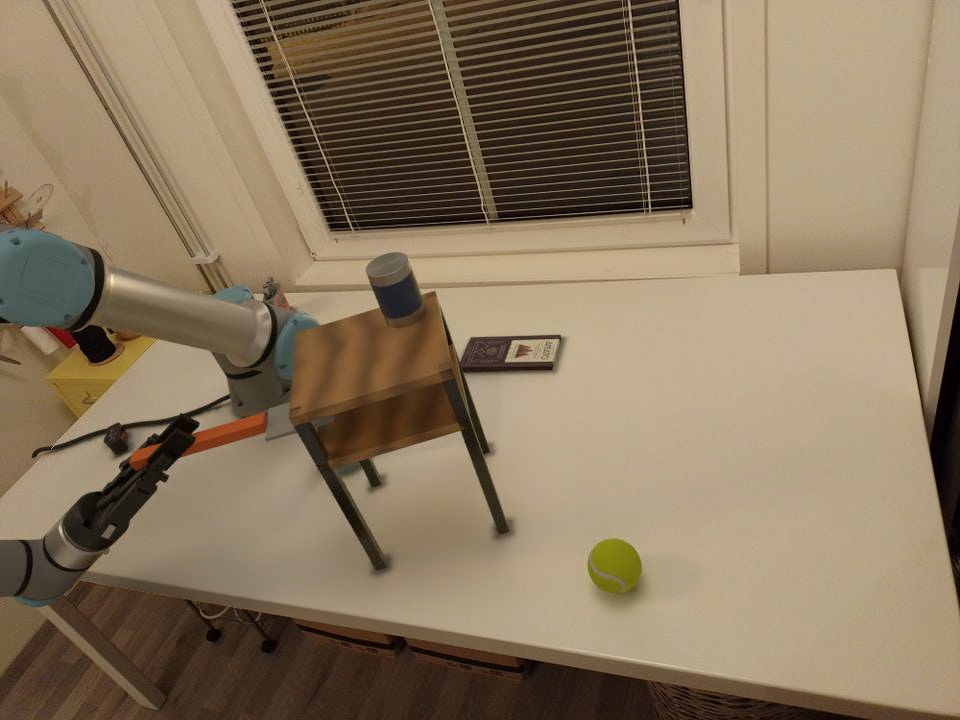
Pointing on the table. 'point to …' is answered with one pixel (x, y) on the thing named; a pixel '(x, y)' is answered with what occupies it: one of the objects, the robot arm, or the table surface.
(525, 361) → the chocolate bar
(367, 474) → the side table
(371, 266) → the tin can
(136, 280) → the robot arm
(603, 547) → the tennis ball
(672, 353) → the table surface
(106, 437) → the dark brown lumpy chunk
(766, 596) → the table surface
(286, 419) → the spatula
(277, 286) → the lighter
